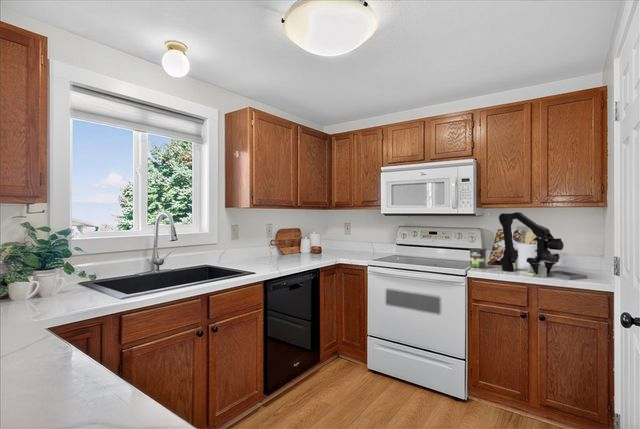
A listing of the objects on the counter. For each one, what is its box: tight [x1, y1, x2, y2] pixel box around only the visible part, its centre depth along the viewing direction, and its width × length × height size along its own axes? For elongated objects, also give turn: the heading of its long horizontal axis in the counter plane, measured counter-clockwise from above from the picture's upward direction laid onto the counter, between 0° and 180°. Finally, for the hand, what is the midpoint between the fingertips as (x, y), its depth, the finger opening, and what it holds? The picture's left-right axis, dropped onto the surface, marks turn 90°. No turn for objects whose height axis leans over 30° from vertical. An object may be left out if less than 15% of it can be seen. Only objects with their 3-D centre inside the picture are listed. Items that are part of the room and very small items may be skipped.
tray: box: [547, 269, 588, 281], centre depth 200 cm, size 18×14×3 cm
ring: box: [519, 266, 547, 278], centre depth 204 cm, size 13×9×6 cm
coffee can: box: [469, 247, 487, 271], centre depth 235 cm, size 10×10×14 cm
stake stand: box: [517, 264, 539, 278], centre depth 206 cm, size 11×11×7 cm
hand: (542, 274), depth 199 cm, fingers open, 8 cm apart
